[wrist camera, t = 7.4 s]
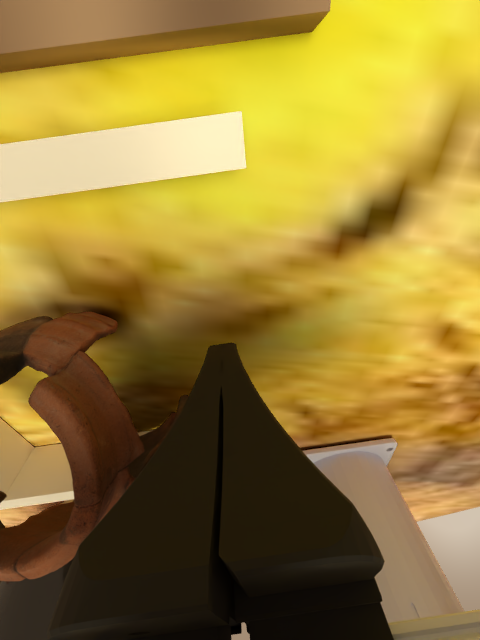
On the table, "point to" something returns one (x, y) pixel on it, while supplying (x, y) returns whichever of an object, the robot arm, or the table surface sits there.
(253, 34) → the walnut scraper
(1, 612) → the black egg shaped dome
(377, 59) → the table surface
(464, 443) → the table surface
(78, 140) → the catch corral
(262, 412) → the robot arm
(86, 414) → the brown hollow round piece
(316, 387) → the table surface
